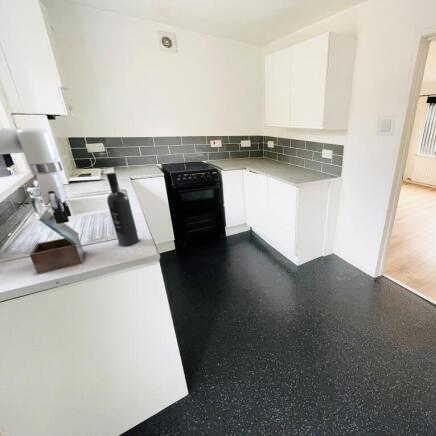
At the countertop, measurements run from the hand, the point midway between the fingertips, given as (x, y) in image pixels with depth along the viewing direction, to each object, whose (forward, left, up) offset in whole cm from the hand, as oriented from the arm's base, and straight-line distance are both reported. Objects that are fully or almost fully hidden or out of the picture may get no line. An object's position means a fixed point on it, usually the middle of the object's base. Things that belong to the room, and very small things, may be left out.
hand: (64, 219), depth 86 cm
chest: (-4, -2, -16) cm, 17 cm away
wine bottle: (+13, +11, -17) cm, 24 cm away
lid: (-2, -1, -3) cm, 4 cm away
